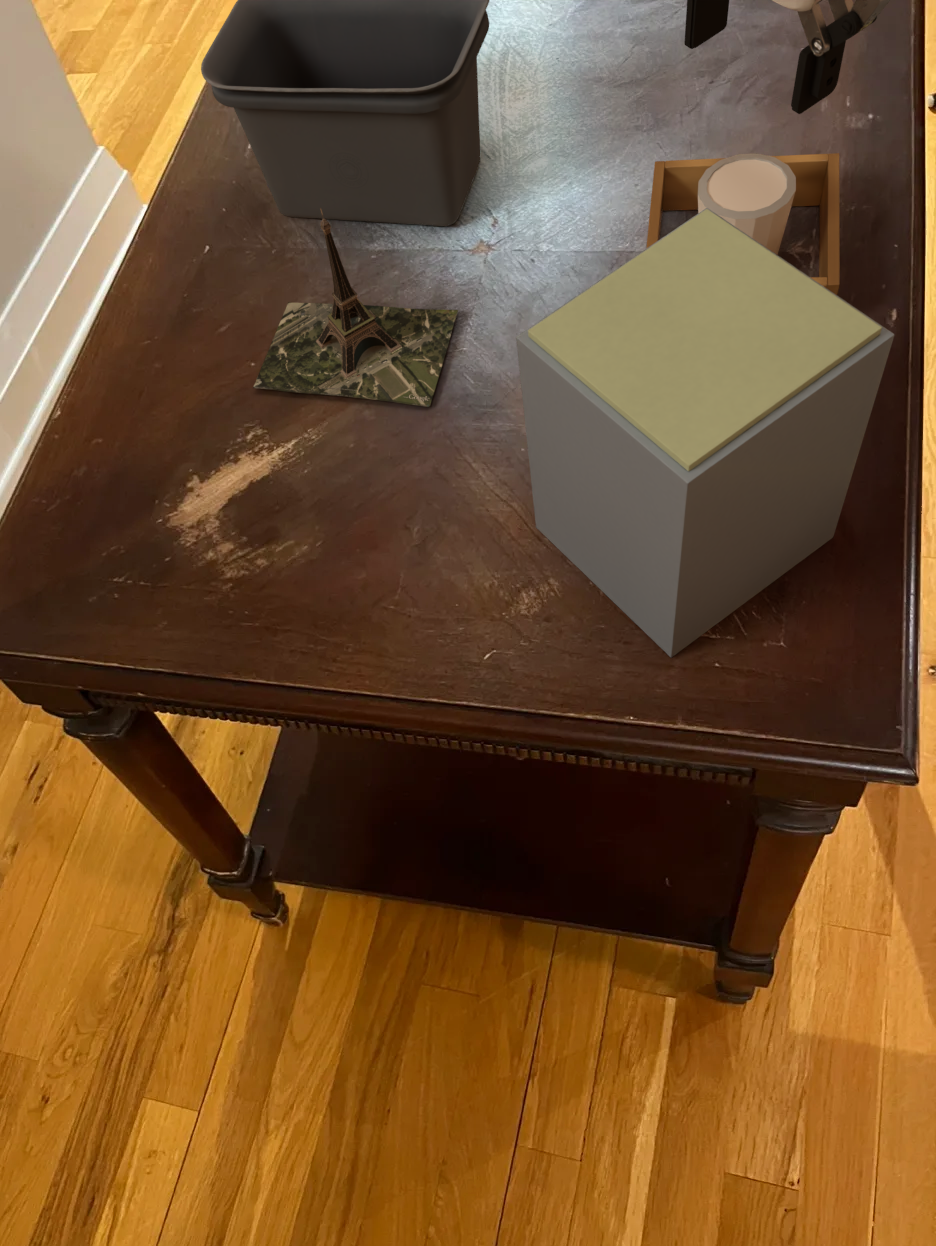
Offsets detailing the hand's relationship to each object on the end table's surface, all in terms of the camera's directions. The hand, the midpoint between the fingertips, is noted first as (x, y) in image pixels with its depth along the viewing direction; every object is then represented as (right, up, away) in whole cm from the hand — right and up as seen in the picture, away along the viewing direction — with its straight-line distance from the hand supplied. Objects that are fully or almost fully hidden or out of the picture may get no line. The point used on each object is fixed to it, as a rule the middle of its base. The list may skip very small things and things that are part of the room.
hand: (757, 68), depth 71 cm
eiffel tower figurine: (-27, -13, +17) cm, 34 cm away
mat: (-7, -22, -12) cm, 26 cm away
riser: (-4, -30, +4) cm, 30 cm away
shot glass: (+3, -7, +14) cm, 16 cm away
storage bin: (-25, +5, +25) cm, 36 cm away
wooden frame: (+3, -7, +14) cm, 16 cm away
